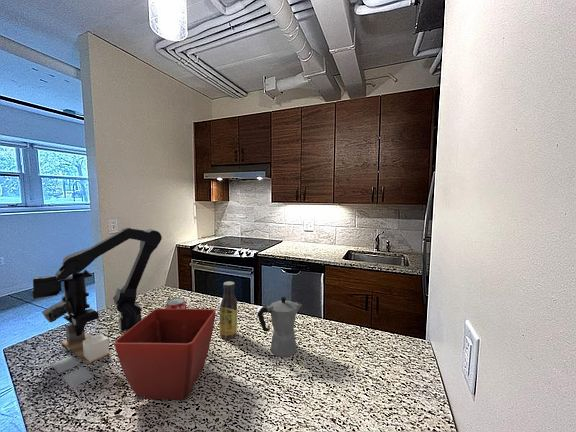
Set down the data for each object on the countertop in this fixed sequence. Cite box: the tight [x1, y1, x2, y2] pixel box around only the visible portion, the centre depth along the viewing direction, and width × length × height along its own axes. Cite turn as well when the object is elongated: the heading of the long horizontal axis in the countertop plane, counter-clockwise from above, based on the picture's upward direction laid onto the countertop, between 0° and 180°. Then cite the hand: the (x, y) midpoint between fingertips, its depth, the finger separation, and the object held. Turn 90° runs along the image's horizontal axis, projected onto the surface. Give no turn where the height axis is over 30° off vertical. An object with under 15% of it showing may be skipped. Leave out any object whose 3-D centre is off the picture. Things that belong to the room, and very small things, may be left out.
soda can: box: [164, 297, 188, 309], centre depth 95 cm, size 7×7×13 cm
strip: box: [61, 323, 114, 365], centre depth 86 cm, size 22×7×6 cm, turn 56°
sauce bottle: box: [219, 280, 238, 340], centre depth 94 cm, size 6×6×20 cm
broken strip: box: [50, 355, 95, 389], centre depth 74 cm, size 17×5×1 cm, turn 56°
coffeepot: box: [256, 296, 303, 358], centre depth 85 cm, size 15×9×18 cm, turn 110°
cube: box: [83, 333, 110, 363], centre depth 81 cm, size 5×5×5 cm
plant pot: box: [113, 308, 216, 401], centre depth 71 cm, size 19×19×17 cm
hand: (78, 335), depth 89 cm, fingers closed
